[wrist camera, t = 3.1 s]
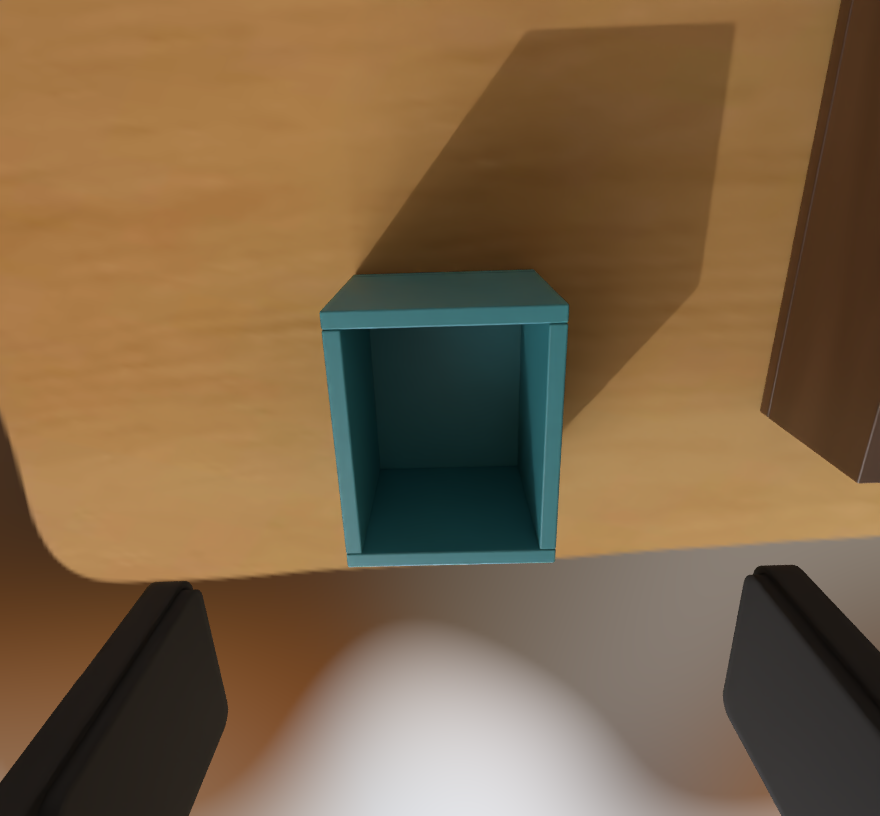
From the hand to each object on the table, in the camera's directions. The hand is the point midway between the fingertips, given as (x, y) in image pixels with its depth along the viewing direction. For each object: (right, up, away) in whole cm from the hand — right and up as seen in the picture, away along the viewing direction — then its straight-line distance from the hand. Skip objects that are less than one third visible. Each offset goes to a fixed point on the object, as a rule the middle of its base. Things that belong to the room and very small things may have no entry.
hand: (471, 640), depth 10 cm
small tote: (0, +5, +12) cm, 13 cm away
